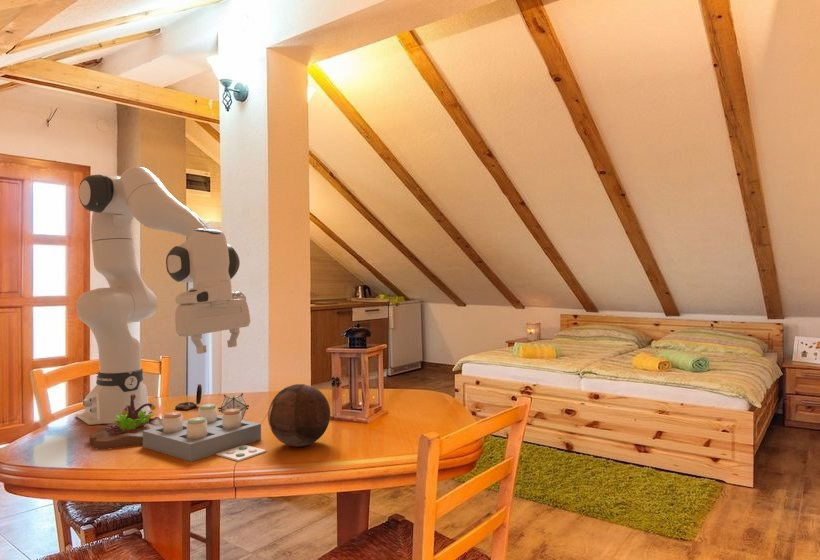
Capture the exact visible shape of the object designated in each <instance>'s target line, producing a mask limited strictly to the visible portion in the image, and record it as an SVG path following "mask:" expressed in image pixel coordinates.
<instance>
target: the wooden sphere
mask: <svg viewBox="0 0 820 560" xmlns="http://www.w3.org/2000/svg"><path fill="white" fill-rule="evenodd" d="M267 420H268V426H269V428H270V430H271V432H272V435H274V437H275V438H276V439H277V440H278V441H280V442H281V443H282V444H284V445H287V446H290V447H294V448H295V447H296V448H298V447H299V448H300V447H306V446H309V445H312V444H313V443H315V442H317V441H318V440H320V439H321V437H323V435H324V434H325V433H326V431H327V429H328V427H329V424H330V420H331V407H330V405H329V401H328V400H327V397H326V396H325V395H324V393H323V392H322V391H320V389H318V388H316V387H315V386H312V385H309V384H305V383H296V384H292V385H291V384H290V385H289V386H286V387H283V389H281V390H280V391H279V392H278V393H277V394H276V395H275V396H274V397H273V399H272V400H271V402H270V405H269V408H268V413H267Z"/></svg>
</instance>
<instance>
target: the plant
mask: <svg viewBox="0 0 820 560" xmlns="http://www.w3.org/2000/svg"><path fill="white" fill-rule="evenodd" d="M130 398H131V401H130V403H131V404H130V406H129V405H127V406H126V407H125V409H124V410H123V411H122V414H123V415H120V414H117V415H116V417H117V418H118V419H119V420H114V419H113V420H114V421H115V422H116V423H107V424H105V425H102V426H100V427H98V428H97V429H96V432H95V433H91V434H90V435H89V437H88V441H89V443H88V444H89V446H90V445H92V446H91V447H93V449H95V448H98V449H97V450H109V449H108V448H112V449H117V447H119V448H124V447H123V446H126V447H134V446H133V445H135V446H143V431H144V430H148V429H152V428H156V427H160V426H163V418H160V417H158V416H155V417H153V416H154V415H155V413H154V412H153V413H151V414H150V413H149V414H148V415H145V414H146V411H145V412H143V411H142V410H141V409H142V408H143V407H145V406H149V407H150V409H151V410H152V411H155V409H156V405H155V404H154V403H151V402H150V403H149V402H148V404H144V405H142V406H141V407H139V408H138V409H137V410H135V407H134V400H135V399H136V395H135V394H132V395H131V396H130ZM127 408H128V409H127ZM140 410H141V411H140ZM124 415H126V416H124Z"/></svg>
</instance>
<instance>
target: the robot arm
mask: <svg viewBox="0 0 820 560" xmlns="http://www.w3.org/2000/svg"><path fill="white" fill-rule="evenodd" d="M78 198H79V202H80V203H81V206H83V208H84V209H85V210H87V211H89V212H92V215H91V224H90V234H91V235H90V236H91V248H92V260H93V266H94V269H95V270H96V271H97V272H98V273H99V274H101V275H102V276H103V277H104V279H105V280H106V281H107V283H108V286H109V287H99V288H98V287H97V288H95V289H90V290H87V291H85V292H83V293H82V294H80V296H79V297H78V299H77V300H76V305H75V309H76V310H75V311H76V315H77V317H78V319H79V320H80V321H81V322H82V323H83V324H85V325H86V326H87V327H88V328H89V329H90V331H91V332H92V334H93V336H94V338H95V341H96V344H97V348H98V365H99V369H98V370H99V371H98V372H96V382H95V383H96V385H95V386H94V387H93V388H92V390H91V391H90V392H89V393H88V394H86V396H85V398H84V399H83V400H82V407H83V408H84V410H81V411H78V412H76V414H75V417H76V418H78V419H79V420H81V421H82V422H84V423H85V424H87V425H88V426H91V425H101V424H103V425H104V424H105V425H108V424H112V423H116V422H115V421H114V420H119V419H118V418H117V417H116V415H117V414H120V415H123V414H122V411H123V410H124V409H125V407H126V406H127V405H129V406H130V404H131V403H130V401H131V398H130V396H131V395H132V394H135V395H136V399H135V400H134V407H135V410H137V409H138V408H139V407H141V406H142V405H144V404H148V403H149V398H148V396H149V395H148V389H147V385H146V384H144V383H143V381H144V372H143V371H144V370H143V368H142V350H141V349H142V348H141V347H142V346H141V343H140V341H139V340H138V339H137V338H135V337H133V335H132V334H131V332H130V330H129V327H128V324H129V323H130V324H133V323H138V322H141V321H145V320H146V319H149V318H152V317H153V316H154V315H155V314H156V312H157V310H158V307H159V302H158V297H157V295H156V294H155V293H154V291H153V290H152V289H150V288H149V287H148V286H147V284H146V283H145V281H144V280H143V278H142V276H141V273H140V271H139V268H138V265H137V258H136V252H135V244H134V235H133V229H132V228H133V227H132V221H133V220H134V219H136V221H138V222H139V223H140V224H141V225H143V226H144V227H147V228H148V229H152V230H158V231H164V232H168V233H169V232H170V233H175V234H178V235H181V236H184V237H186V238H187V239H186V240H185V241H183V242H182V243H181V244H179V245H175V246H174V247H172V248H171V249H170V250H169V251H168V253H167V255H166V258H165V266H166V271H167V273H168V275H169V276H170V278H171V279H173V280H174V281H175V282H177V283H183V284H184V283H185V284H186V283H192V288H190V289H188V290H186V291H184V292H181V293H179V294H177V295H176V296H175V304H176V305H177V307H176V309H175V314H174V319H175V331H176V334H177V335H178V336H179V337H190V339H191V341H192V343H193V345H194V346H195V348H196V354H206V353H207V345H205V344H203V342H202V339H203V335H204V334H210V333H217V332H222V331H229V333H230V337H229V339H227V340H226V342H227V348H235V347H237V346H238V343H237V342H238V340H237V339H238V338H239V336H240V334H241V333H240V332H241V331H240V329H241V328H248V327H249V326H250V324H251V315H250V310H249V305H248V303H247V296H246V295H245V294H244V293H242V291H236V292H233V291H232V281H231V280H232V279H233V278H234V277H235V276H236V274H237V273H238V271H239V268H240V263H241V262H240V257H239V254H238V253H237V251H236V250H235V248H234V247H233V246H231V245H230V244H229V243H227V238H226V236H225V233H224V231H222V230H220V229H217V228H216V229H215V228H211V227H210V226H209V225H208V224H207V223H206V222H205V221H204V220H203V219H202V218H201V217H200V216H199V215H198V214H197V213H196V212H194V210H192V209H191V208H189V207H187V206H186V205H184V204H183V203H181V202H180V201H179V200H177V198H175V196H173V195H172V193H170V192H169V191H168V189H167V188H166V186H165V185H164V184H163V183H162V181H161V180H160V179H159V178H158V177H157V176H156V175H155V174H154V173H153V172H151V171H150V170H149V169H148V168H145V167H143V166H131V167H130V168H127V169H125V171H123V173H122V174H120V175H103V174H91V175H86V176H85V177H84V178H83V179H82V180H81V182H80V183H79V187H78ZM127 409H128V408H127ZM141 410H142V411H143V412H145V411H146V414H145V415H147V416H149V414H150V413H152V412H153V410H151V409H150V407H149V406H145V407H143V408H142V409H141ZM141 410H140V411H141ZM124 416H126V415H124ZM113 419H114V420H113Z"/></svg>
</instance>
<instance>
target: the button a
mask: <svg viewBox="0 0 820 560" xmlns="http://www.w3.org/2000/svg"><path fill="white" fill-rule="evenodd" d="M162 419H163V432H164V433H167V434H170V433H174V432H178V431H182V430H183V421H184V417H183V414H182V412H181V411H171V412H166V413H164V414H163V416H162Z"/></svg>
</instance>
